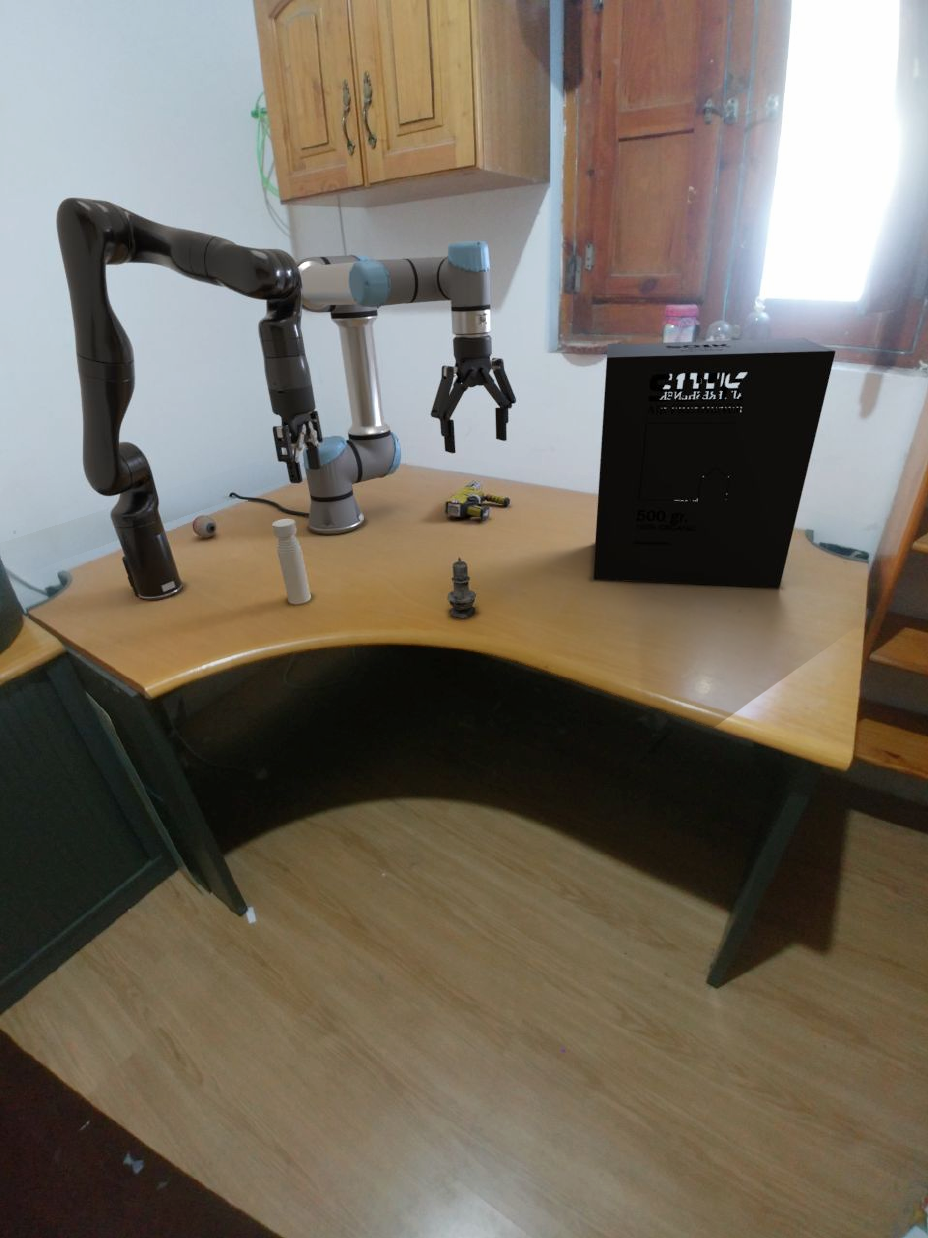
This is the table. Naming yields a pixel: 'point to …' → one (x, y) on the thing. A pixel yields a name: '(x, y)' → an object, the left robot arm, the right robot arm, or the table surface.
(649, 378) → the cardboard box
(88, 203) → the left robot arm
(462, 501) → the toy gun
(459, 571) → the grey chess piece
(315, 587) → the table surface
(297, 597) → the bottle
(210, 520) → the eyeball
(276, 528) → the cap
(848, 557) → the table surface
